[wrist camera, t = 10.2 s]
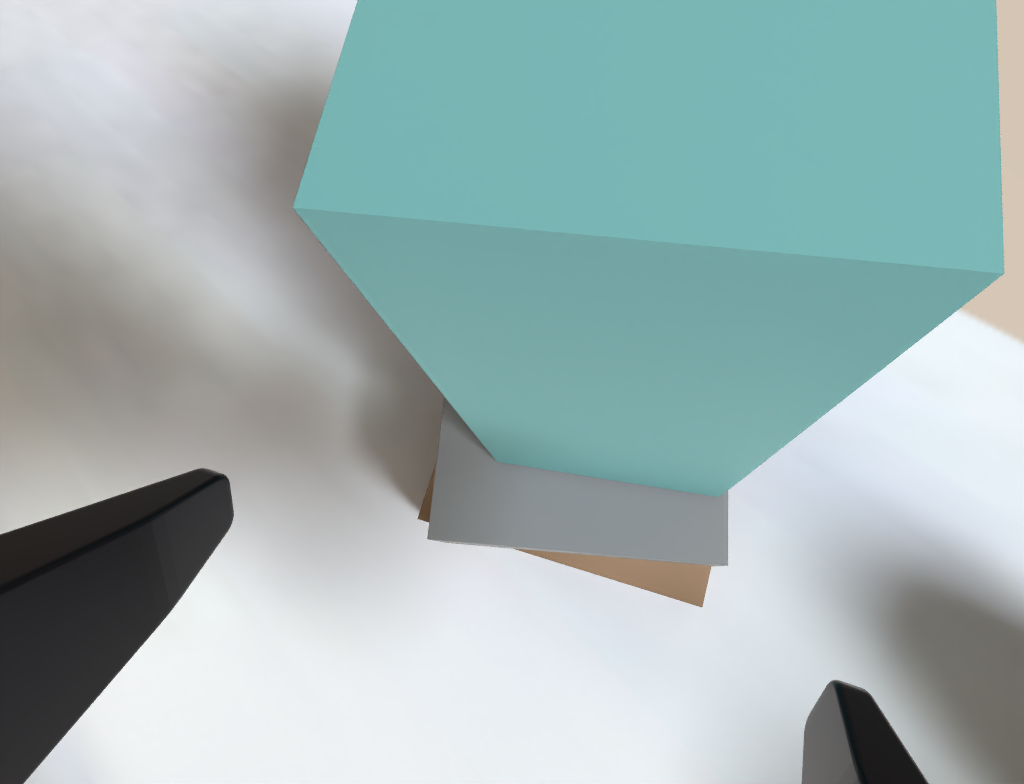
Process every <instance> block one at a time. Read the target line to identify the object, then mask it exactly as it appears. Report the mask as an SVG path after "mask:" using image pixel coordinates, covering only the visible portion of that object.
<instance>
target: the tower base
mask: <svg viewBox="0 0 1024 784" xmlns="http://www.w3.org/2000/svg"><path fill="white" fill-rule="evenodd" d="M436 463H437V461H436ZM435 471H436V464H435V468H434V471H433V474H432V477H431V480H430V483H429V486H428V489H427V492H426V495H425V498H424V501H423V504H422V507H421V510H420V513H419V516H418V519H420V520H423V521H426V522H429V521H430V513H431V504H432V496H433V488H434V479H435ZM516 550H519V551H523V552H526V553H529V554H532V555H535V556H539V557H542V558H545V559H548V560H551V561H555V562H558V563H561V564H564V565H568V566H571V567H574V568H577V569H580V570H584V571H587V572H590V573H593V574H596V575H600V576H603V577H606V578H609V579H613V580H616V581H619V582H622V583H625V584H629V585H632V586H635V587H638V588H641V589H645V590H648V591H651V592H654V593H658V594H661V595H664V596H667V597H670V598H674V599H677V600H680V601H683V602H686V603H690V604H693V605H696V606H699V607H702V606H703V601H704V597H705V592H706V588H707V583H708V579H709V574H710V570H711V566H705V565H693V564H682V563H671V562H659V561H648V560H637V559H626V558H614V557H603V556H592V555H580V554H569V553H558V552H547V551H535V550H524V549H516Z"/></svg>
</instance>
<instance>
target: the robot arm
mask: <svg viewBox="0 0 1024 784" xmlns="http://www.w3.org/2000/svg"><path fill="white" fill-rule="evenodd" d="M233 516H234V511H233V504H232V496H231V489H230V482H229V479H228V478H227V476H225V475H224V474H221V473H218V472H215V471H212V470H209V469H205V468H200V469H196V470H193V471H190V472H187V473H184V474H181V475H178V476H175V477H172V478H169V479H166V480H163V481H160V482H157V483H154V484H151V485H148V486H145V487H142V488H139V489H136V490H133V491H130V492H127V493H124V494H121V495H118V496H115V497H112V498H109V499H106V500H103V501H100V502H97V503H94V504H91V505H88V506H85V507H82V508H79V509H76V510H73V511H70V512H67V513H64V514H61V515H58V516H55V517H52V518H49V519H46V520H43V521H40V522H37V523H34V524H31V525H28V526H25V527H22V528H19V529H16V530H13V531H10V532H7V533H4V534H1V535H0V784H24V782H25V781H26V780H27V779H28V778H29V777H30V775H31V774H32V773H33V772H34V771H35V770H36V768H37V767H38V766H39V765H40V764H41V763H42V761H43V760H44V759H45V758H46V757H47V756H48V754H49V753H50V752H51V751H52V750H53V749H54V747H55V746H56V745H57V744H58V743H59V742H60V740H61V739H62V738H63V737H64V736H65V735H66V733H67V732H68V731H69V730H70V729H71V728H72V726H73V725H74V724H75V723H76V722H77V721H78V719H79V718H80V717H81V716H82V715H83V714H84V712H85V711H86V710H87V709H88V708H89V707H90V705H91V704H92V703H93V702H94V701H95V700H96V698H97V697H98V696H99V695H100V694H101V693H102V691H103V690H104V689H105V688H106V687H107V686H108V684H109V683H110V682H111V681H112V680H113V679H114V677H115V676H116V675H117V674H118V673H119V672H120V670H121V669H122V668H123V667H124V666H125V665H126V663H127V662H128V661H129V660H130V659H131V658H132V656H133V655H134V654H135V653H136V652H137V651H138V649H139V648H140V647H141V646H142V645H143V644H144V642H145V641H146V640H147V639H148V638H149V637H150V635H151V634H152V633H153V632H154V631H155V630H156V628H157V627H158V626H159V625H160V624H161V623H162V621H163V620H164V619H165V618H166V616H167V615H168V614H169V613H170V612H171V610H172V609H173V608H174V606H175V605H176V604H177V602H178V601H179V600H180V598H181V597H182V596H183V594H184V593H185V591H186V590H187V589H188V587H189V586H190V584H191V583H192V581H193V580H194V579H195V577H196V576H197V574H198V573H199V571H200V570H201V569H202V567H203V566H204V564H205V563H206V562H207V560H208V559H209V557H210V556H211V554H212V553H213V552H214V550H215V549H216V547H217V546H218V544H219V543H220V542H221V540H222V539H223V537H224V536H225V534H226V533H227V532H228V530H229V528H230V526H231V524H232V521H233ZM802 784H929V783H928V782H927V780H926V779H925V777H924V776H923V774H922V773H921V771H920V770H919V768H918V766H917V765H916V763H915V762H914V760H913V759H912V757H911V756H910V754H909V753H908V751H907V750H906V748H905V746H904V745H903V743H902V742H901V740H900V739H899V737H898V736H897V734H896V733H895V731H894V729H893V728H892V726H891V725H890V723H889V722H888V720H887V719H886V717H885V716H884V714H883V713H882V711H881V709H880V708H879V706H878V705H877V703H876V702H875V700H874V699H873V697H872V696H871V695H870V694H869V693H868V692H867V691H866V690H865V689H862V688H860V687H857V686H854V685H851V684H848V683H845V682H842V681H839V680H833V681H831V682H830V683H829V684H828V685H827V686H826V688H825V690H824V691H823V693H822V695H821V696H820V698H819V699H818V701H817V703H816V704H815V706H814V708H813V709H812V711H811V713H810V714H809V716H808V719H807V722H806V725H805V731H804V748H803V769H802Z"/></svg>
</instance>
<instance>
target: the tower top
mask: <svg viewBox="0 0 1024 784" xmlns="http://www.w3.org/2000/svg"><path fill="white" fill-rule="evenodd" d="M427 539H430V540H435V541H441V542H446V543H456V544H467V545H479V546H490V547H501V548H513V549H524V550H535V551H547V552H558V553H569V554H580V555H592V556H603V557H614V558H626V559H637V560H648V561H659V562H671V563H682V564H693V565H705V566H728V491H726V492H725V493H724V494H722V495H721V496H720V497H714V496H708V495H702V494H696V493H689V492H683V491H677V490H670V489H664V488H658V487H652V486H645V485H639V484H633V483H627V482H620V481H614V480H608V479H602V478H595V477H589V476H583V475H577V474H570V473H564V472H558V471H552V470H545V469H539V468H533V467H527V466H520V465H514V464H508V463H502V462H497V461H496V460H495V459H494V457H493V456H492V455H491V454H490V452H489V451H488V450H487V449H486V448H485V446H484V445H483V444H482V443H481V441H480V440H479V439H478V438H477V436H476V435H475V434H474V433H473V431H472V430H471V429H470V428H469V426H468V425H467V424H466V423H465V421H464V420H463V419H462V418H461V416H460V415H459V414H458V413H457V411H456V410H455V409H454V408H453V406H452V405H451V404H450V403H449V401H448V400H447V399H446V398H445V397H444V404H443V413H442V421H441V429H440V438H439V446H438V454H437V463H436V471H435V479H434V488H433V496H432V504H431V513H430V521H429V529H428V538H427Z"/></svg>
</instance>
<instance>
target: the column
mask: <svg viewBox="0 0 1024 784" xmlns="http://www.w3.org/2000/svg"><path fill="white" fill-rule="evenodd" d="M997 50H998V49H997V15H996V0H358V1H357V4H356V7H355V11H354V14H353V17H352V20H351V23H350V27H349V30H348V33H347V36H346V39H345V42H344V46H343V49H342V52H341V55H340V58H339V62H338V65H337V68H336V71H335V74H334V77H333V81H332V84H331V87H330V90H329V93H328V97H327V100H326V103H325V106H324V109H323V113H322V116H321V119H320V122H319V125H318V128H317V132H316V135H315V138H314V141H313V144H312V148H311V151H310V154H309V157H308V160H307V163H306V167H305V170H304V173H303V176H302V179H301V183H300V186H299V189H298V192H297V195H296V198H295V202H294V205H293V209H294V210H295V211H296V212H297V214H298V215H299V216H300V217H301V219H302V220H303V221H304V222H305V224H306V225H307V226H308V227H309V229H310V230H311V231H312V232H313V234H314V235H315V236H316V237H317V239H318V240H319V241H320V242H321V243H322V245H323V246H324V247H325V248H326V250H327V251H328V252H329V253H330V255H331V256H332V257H333V258H334V260H335V261H336V262H337V263H338V265H339V266H340V267H341V268H342V270H343V271H344V272H345V273H346V275H347V276H348V277H349V278H350V280H351V281H352V282H353V283H354V285H355V286H356V287H357V288H358V290H359V291H360V292H361V293H362V294H363V296H364V297H365V298H366V299H367V301H368V302H369V303H370V304H371V306H372V307H373V308H374V309H375V311H376V312H377V313H378V314H379V316H380V317H381V318H382V319H383V321H384V322H385V323H386V324H387V326H388V327H389V328H390V329H391V331H392V332H393V333H394V334H395V336H396V337H397V338H398V339H399V341H400V342H401V343H402V344H403V345H404V347H405V348H406V349H407V350H408V352H409V353H410V354H411V355H412V357H413V358H414V359H415V360H416V362H417V363H418V364H419V365H420V367H421V368H422V369H423V370H424V372H425V373H426V374H427V375H428V377H429V378H430V379H431V380H432V382H433V383H434V384H435V385H436V387H437V388H438V389H439V390H440V392H441V393H442V394H443V395H444V397H445V398H446V399H447V400H448V401H449V403H450V404H451V405H452V406H453V408H454V409H455V410H456V411H457V413H458V414H459V415H460V416H461V418H462V419H463V420H464V421H465V423H466V424H467V425H468V426H469V428H470V429H471V430H472V431H473V433H474V434H475V435H476V436H477V438H478V439H479V440H480V441H481V443H482V444H483V445H484V446H485V448H486V449H487V450H488V451H489V452H490V454H491V455H492V456H493V457H494V459H495V460H496V461H497V462H502V463H508V464H514V465H520V466H527V467H533V468H539V469H545V470H552V471H558V472H564V473H570V474H577V475H583V476H589V477H595V478H602V479H608V480H614V481H620V482H627V483H633V484H639V485H645V486H652V487H658V488H664V489H670V490H677V491H683V492H689V493H696V494H702V495H708V496H714V497H720V496H721V495H722V494H724V493H725V492H726V491H728V490H729V489H730V488H731V487H733V486H734V485H735V484H736V483H738V482H739V481H740V480H742V479H743V478H744V477H745V476H747V475H748V474H749V473H751V472H752V471H753V470H754V469H756V468H757V467H758V466H759V465H761V464H762V463H763V462H765V461H766V460H767V459H768V458H770V457H771V456H772V455H773V454H775V453H776V452H777V451H779V450H780V449H781V448H782V447H784V446H785V445H786V444H787V443H789V442H790V441H791V440H793V439H794V438H795V437H796V436H798V435H799V434H800V433H802V432H803V431H804V430H805V429H807V428H808V427H809V426H810V425H812V424H813V423H814V422H816V421H817V420H818V419H819V418H821V417H822V416H823V415H824V414H826V413H827V412H828V411H830V410H831V409H832V408H833V407H835V406H836V405H837V404H838V403H840V402H841V401H842V400H844V399H845V398H846V397H847V396H849V395H850V394H851V393H853V392H854V391H855V390H856V389H858V388H859V387H860V386H861V385H863V384H864V383H865V382H867V381H868V380H869V379H870V378H872V377H873V376H874V375H875V374H877V373H878V372H879V371H881V370H882V369H883V368H884V367H886V366H887V365H888V364H889V363H891V362H892V361H893V360H895V359H896V358H897V357H898V356H900V355H901V354H902V353H903V352H905V351H906V350H907V349H909V348H910V347H911V346H912V345H914V344H915V343H916V342H918V341H919V340H920V339H921V338H923V337H924V336H925V335H926V334H928V333H929V332H930V331H932V330H933V329H934V328H935V327H937V326H938V325H939V324H940V323H942V322H943V321H944V320H946V319H947V318H948V317H949V316H951V315H952V314H953V313H954V312H956V311H957V310H958V309H960V308H961V307H962V306H963V305H965V304H966V303H967V302H969V301H970V300H971V299H972V298H974V297H975V296H976V295H977V294H979V293H980V292H981V291H982V290H984V289H985V288H986V287H987V286H989V285H990V284H991V283H993V282H994V281H995V280H997V279H998V278H999V277H1000V276H1002V275H1003V274H1004V251H1003V217H1002V183H1001V149H1000V115H999V82H998V51H997Z"/></svg>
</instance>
